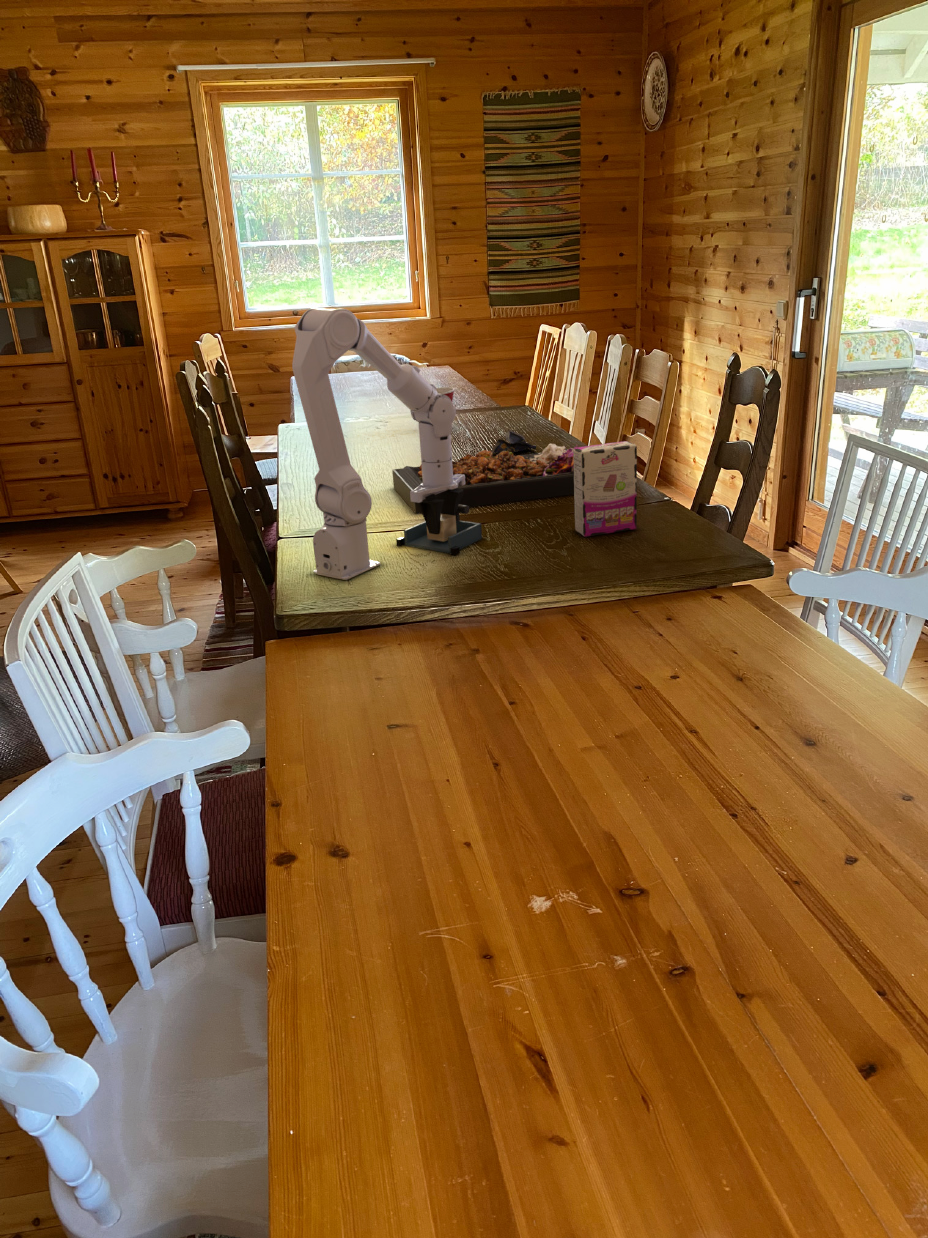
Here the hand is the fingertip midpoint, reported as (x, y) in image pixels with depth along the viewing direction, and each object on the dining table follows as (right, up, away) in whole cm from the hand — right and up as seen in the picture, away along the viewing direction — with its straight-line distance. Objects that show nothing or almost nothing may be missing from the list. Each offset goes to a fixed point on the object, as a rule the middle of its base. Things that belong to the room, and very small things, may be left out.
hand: (441, 530), depth 174 cm
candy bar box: (+32, 0, +3) cm, 32 cm away
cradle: (-2, -4, -2) cm, 5 cm away
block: (0, -1, 0) cm, 1 cm away
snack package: (+18, +28, +73) cm, 81 cm away
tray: (0, -2, +1) cm, 3 cm away
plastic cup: (-3, +42, +112) cm, 120 cm away
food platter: (+13, +13, +37) cm, 41 cm away
